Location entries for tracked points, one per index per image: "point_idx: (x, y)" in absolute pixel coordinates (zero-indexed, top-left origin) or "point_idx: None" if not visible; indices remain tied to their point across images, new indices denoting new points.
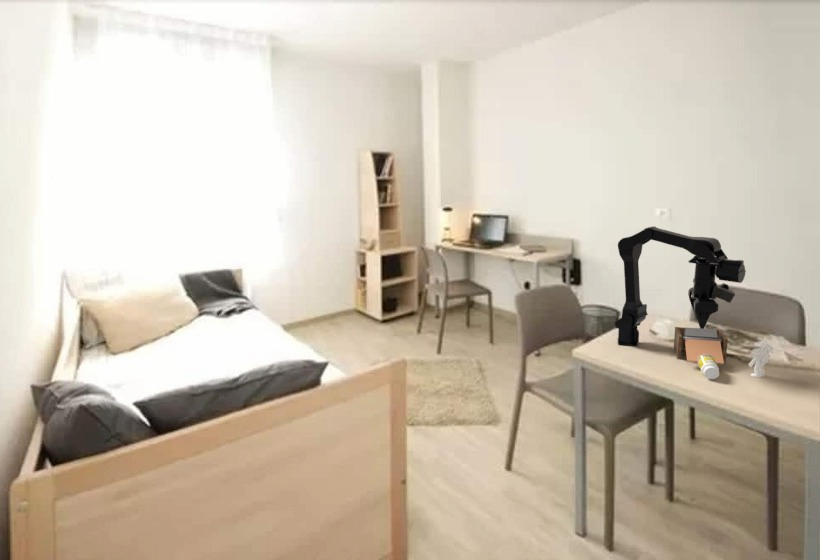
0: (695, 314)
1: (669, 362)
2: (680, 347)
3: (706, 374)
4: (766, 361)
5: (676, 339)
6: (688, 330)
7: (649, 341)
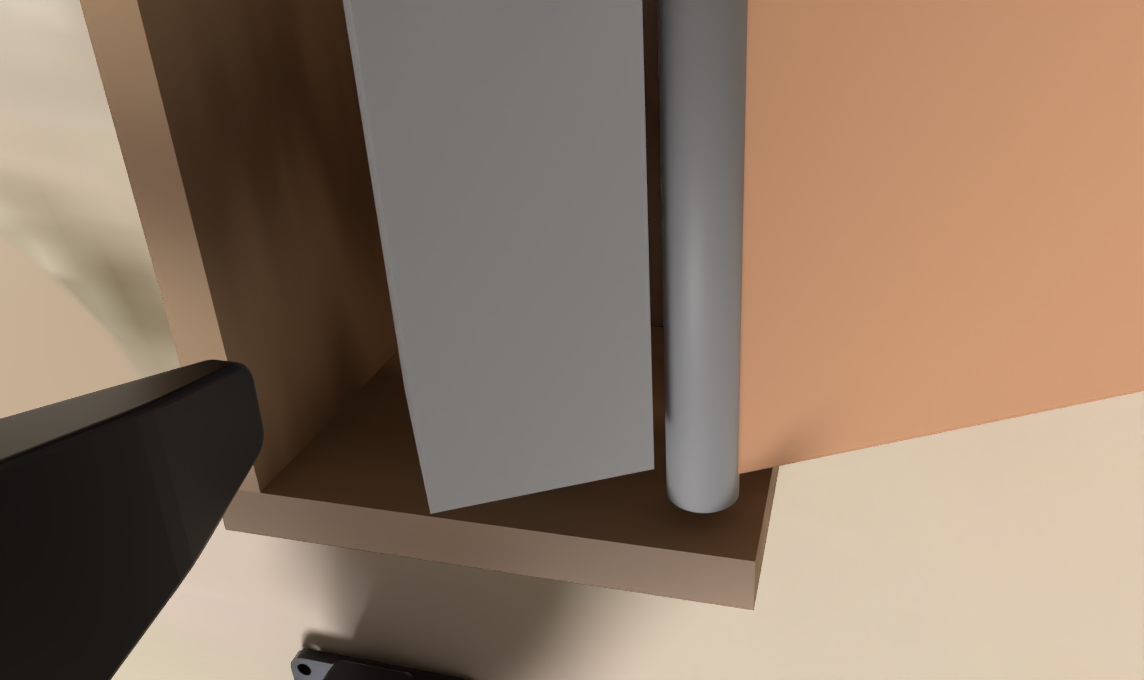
0: (167, 577)
1: (960, 489)
2: None
3: None
4: None
5: None
6: (512, 456)
7: None
